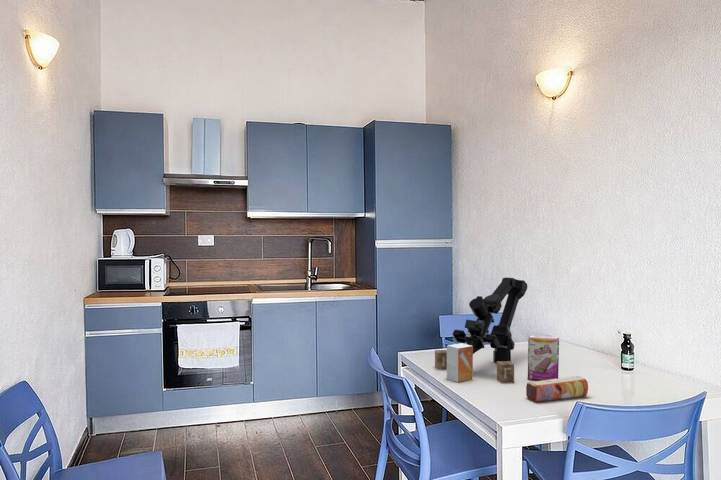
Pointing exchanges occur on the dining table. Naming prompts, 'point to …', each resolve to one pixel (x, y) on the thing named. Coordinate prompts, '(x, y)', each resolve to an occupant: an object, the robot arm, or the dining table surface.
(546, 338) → the candy bar box
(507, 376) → the walnut block seven
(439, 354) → the walnut block one
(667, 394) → the dining table surface
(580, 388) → the snack package
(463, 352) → the small box
